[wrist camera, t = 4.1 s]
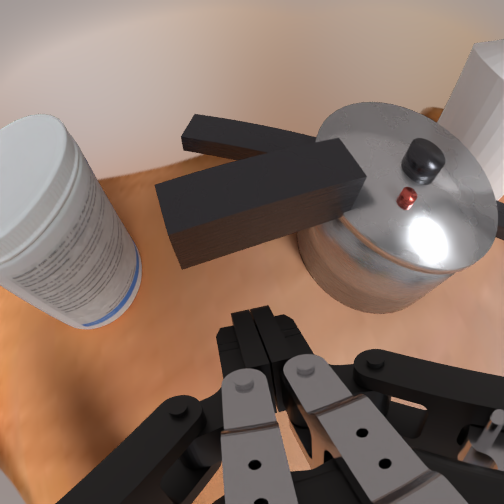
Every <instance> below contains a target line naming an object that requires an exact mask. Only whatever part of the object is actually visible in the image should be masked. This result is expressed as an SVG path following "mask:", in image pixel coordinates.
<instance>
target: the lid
mask: <svg viewBox="0 0 504 504" xmlns="http://www.w3.org/2000/svg"><path fill="white" fill-rule="evenodd" d="M155 188H156V192H157V196H158V200H159V203H160V207H161V211H162V215H163V218H164V222H165V226H166V229H167V233H168V236H169V239H170V241H171V244H172V246H173V249H174V251H175V254H176V256H177V259H178V261H179V263H180V266H181V268H182V269H185V268H188V267H191V266H195V265H198V264H201V263H204V262H207V261H210V260H213V259H216V258H219V257H222V256H225V255H228V254H231V253H234V252H237V251H240V250H243V249H246V248H249V247H252V246H255V245H258V244H261V243H264V242H268V241H271V240H274V239H277V238H280V237H283V236H286V235H289V234H292V233H295V232H298V231H301V230H304V229H307V228H310V227H314V226H317V225H320V224H323V223H326V222H329V221H332V220H335V219H338V218H339V220H340V221H341V222H342V223H343V224H344V226H345V227H346V228H347V229H348V230H349V231H350V232H351V233H352V234H354V235H355V236H356V237H357V238H358V239H359V240H360V241H361V242H363V243H364V244H365V245H366V246H368V247H369V248H370V249H372V250H373V251H375V252H376V253H378V254H379V255H381V256H382V257H384V258H386V259H388V260H390V261H392V262H394V263H396V264H397V265H400V266H402V267H405V268H408V269H410V270H413V271H418V272H422V273H426V274H437V275H442V274H452V273H456V272H460V271H462V270H464V269H466V268H469V267H470V266H472V265H473V264H474V263H476V262H477V261H478V260H479V259H481V258H482V257H483V256H484V255H485V254H486V253H487V252H488V250H489V249H490V248H491V246H492V244H493V242H494V239H495V236H496V233H497V227H498V210H497V203H496V199H495V195H494V192H493V189H492V187H491V184H490V182H489V180H488V178H487V176H486V174H485V172H484V171H483V169H482V167H481V166H480V164H479V163H478V161H477V160H476V158H475V157H474V156H473V155H472V153H471V152H470V151H469V150H468V149H467V148H466V147H465V146H464V145H463V144H462V143H461V142H460V141H459V140H458V139H457V138H456V137H455V136H454V135H453V134H452V133H450V132H449V131H448V130H446V129H445V128H444V127H442V126H441V125H439V124H438V123H436V122H435V121H433V120H431V119H429V118H428V117H426V116H424V115H422V114H420V113H417V112H415V111H413V110H410V109H407V108H404V107H401V106H397V105H393V104H387V103H380V102H362V103H356V104H351V105H348V106H345V107H343V108H341V109H339V110H337V111H335V112H334V113H332V114H331V115H330V116H329V117H328V118H327V119H326V120H325V121H324V122H323V124H322V126H321V127H320V129H319V132H318V135H317V137H316V141H315V142H314V143H310V144H305V145H300V146H296V147H291V148H287V149H283V150H278V151H274V152H270V153H266V154H262V155H258V156H254V157H250V158H246V159H242V160H238V161H234V162H230V163H227V164H223V165H219V166H216V167H212V168H209V169H205V170H202V171H198V172H195V173H192V174H188V175H185V176H182V177H178V178H175V179H172V180H169V181H165V182H162V183H159V184H156V185H155Z"/></svg>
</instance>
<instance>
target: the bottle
mask: <svg viewBox="0 0 504 504" xmlns="http://www.w3.org/2000/svg"><path fill="white" fill-rule="evenodd" d="M437 123H438V124H439V125H441V126H442V127H444V128H445V129H446V130H448V131H449V132H450V133H452V134H453V135H454V136H455V137H456V138H457V139H458V140H459V141H460V142H461V143H462V144H463V145H464V146H465V147H466V148H467V149H468V150H469V151H470V152H471V153H472V155H473V156H474V157H475V158H476V160H477V161H478V163H479V164H480V166H481V167H482V169H483V171H484V172H485V174H486V176H487V178H488V180H489V182H490V184H491V187H492V189H493V192H494V195H495V199H496V200H497V201H498V200H499V199H500V198H501V197H502V196H503V195H504V39H501V40H497V41H488V42H481V43H475V44H474V45H473V48H472V50H471V52H470V55H469V57H468V60H467V62H466V64H465V66H464V68H463V71H462V73H461V75H460V77H459V79H458V81H457V83H456V86H455V88H454V90H453V92H452V94H451V96H450V98H449V100H448V102H447V104H446V106H445V108H444V110H443V112H442V114H441V116H440V118H439V120H438V122H437Z"/></svg>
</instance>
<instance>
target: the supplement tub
mask: <svg viewBox="0 0 504 504" xmlns="http://www.w3.org/2000/svg"><path fill="white" fill-rule="evenodd" d="M141 277H142V263H141V258H140V254H139V251H138V249H137V246H136V245H135V243H134V241H133V240H132V238H131V236H130V235H129V233H128V232H127V230H126V228H125V227H124V225H123V223H122V222H121V220H120V218H119V217H118V215H117V213H116V211H115V210H114V208H113V206H112V205H111V203H110V201H109V200H108V198H107V196H106V194H105V193H104V191H103V189H102V187H101V186H100V184H99V182H98V180H97V179H96V177H95V175H94V173H93V171H92V170H91V168H90V166H89V164H88V162H87V160H86V158H85V157H84V155H83V154H82V152H81V150H80V148H79V146H78V144H77V143H76V142H75V140H74V139H73V137H72V136H71V135H70V134H69V133H68V131H67V129H66V127H65V126H64V124H63V123H62V122H61V121H60V120H59V119H58V118H56V117H54V116H52V115H47V114H37V115H30V116H27V117H24V118H21V119H18V120H16V121H14V122H12V123H10V124H8V125H7V126H5V127H3V128H2V129H0V285H1V286H2V287H4V288H5V289H7V290H8V291H10V292H11V293H13V294H15V295H16V296H18V297H19V298H21V299H23V300H24V301H26V302H28V303H29V304H31V305H33V306H35V307H36V308H38V309H40V310H42V311H43V312H45V313H47V314H49V315H50V316H52V317H54V318H56V319H58V320H60V321H61V322H63V323H65V324H67V325H69V326H72V327H74V328H78V329H95V328H99V327H102V326H105V325H107V324H109V323H111V322H113V321H114V320H116V319H117V318H119V317H120V316H121V315H122V314H123V313H124V312H125V311H126V310H127V309H128V308H129V306H130V305H131V303H132V302H133V300H134V298H135V297H136V294H137V292H138V290H139V286H140V283H141Z"/></svg>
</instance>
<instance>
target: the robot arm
mask: <svg viewBox="0 0 504 504" xmlns="http://www.w3.org/2000/svg"><path fill="white" fill-rule="evenodd" d="M231 317H232V322H233V326H228V327H223V328H220V330H219V332H218V334H217V336H216V338H217V344H218V350H219V356H220V362H221V367H222V373H223V381H222V387H221V388H220V389H219V391H218V392H216V393H215V394H214V395H212V396H211V397H209V398H206V399H204V400H202V401H200V402H199V401H198V400H197V399H196V398H194V397H192V396H187V395H180V396H175V397H172V398H169V399H167V400H166V401H164V402H163V403H162V404H161V405H160V406H159V407H158V408H157V409H156V410H155V411H154V412H153V413H152V414H151V415H150V416H149V417H148V418H147V419H145V420H144V421H143V422H142V423H141V424H140V425H139V426H138V427H137V428H136V429H135V430H134V431H133V432H132V433H131V434H130V435H129V436H128V437H127V438H126V439H125V440H124V441H123V442H122V443H121V444H120V445H119V446H118V447H117V448H116V449H114V450H113V451H112V452H111V453H110V454H109V455H108V456H107V457H106V458H105V459H104V460H103V461H102V462H101V463H100V464H99V465H97V466H96V467H95V468H94V469H93V470H92V471H91V472H90V473H89V474H88V475H87V476H86V477H85V478H83V479H82V480H81V481H80V482H79V483H78V484H77V485H76V486H75V487H74V488H72V489H71V490H70V491H69V492H68V493H67V494H66V495H65V496H64V497H62V498H61V499H60V500H59V501H58V502H57V503H56V504H192V502H193V501H194V500H195V499H196V497H197V496H198V495H199V494H200V492H201V491H202V490H203V488H204V487H205V486H206V485H207V483H208V482H209V481H210V479H211V478H212V477H213V475H214V474H215V473H216V471H217V470H218V469H219V467H220V465H221V462H222V466H223V480H224V493H225V495H224V496H222V497H221V498H219V499H218V500H216V501H215V502H213V503H212V504H504V377H502V376H497V375H492V374H487V373H482V372H477V371H472V370H467V369H462V368H458V367H453V366H448V365H444V364H439V363H435V362H431V361H426V360H422V359H418V358H414V357H409V356H405V355H401V354H397V353H393V352H389V351H385V350H381V349H371V350H366V351H364V352H362V353H360V354H359V355H357V357H356V358H355V360H354V364H349V365H330V364H328V363H327V362H326V361H325V360H324V359H323V358H322V357H320V356H317V355H314V354H313V352H312V350H311V349H310V347H309V345H308V344H307V342H306V340H305V339H304V337H303V335H302V334H301V332H300V330H299V329H298V328H297V325H296V324H295V322H294V321H293V319H291V318H290V317H288V316H286V315H284V314H283V315H278V316H274V315H273V313H272V311H271V309H270V307H269V306H268V305H267V306H262V307H258V308H253V309H250V311H249V310H244V311H239V312H235V313H231ZM391 396H392V397H396V398H399V399H403V400H406V401H410V402H414V403H417V404H421V405H423V406H424V407H426V409H427V410H422V409H418V408H414V407H411V406H407V405H403V404H400V403H396V402H393V401H391ZM276 406H277V409H278V411H279V412H281V411H285V410H286V411H287V414H288V416H289V424H290V428H291V430H292V432H293V434H294V436H295V438H296V440H297V442H298V444H299V446H300V448H301V450H302V452H303V454H304V455H305V457H306V459H307V461H308V463H309V465H310V468H311V470H306V471H293V472H290V469H289V465H288V461H287V457H286V453H285V449H284V445H283V441H282V436H281V432H280V428H279V425H278V422H277V421H276V417H275V413H277V410H276Z"/></svg>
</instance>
